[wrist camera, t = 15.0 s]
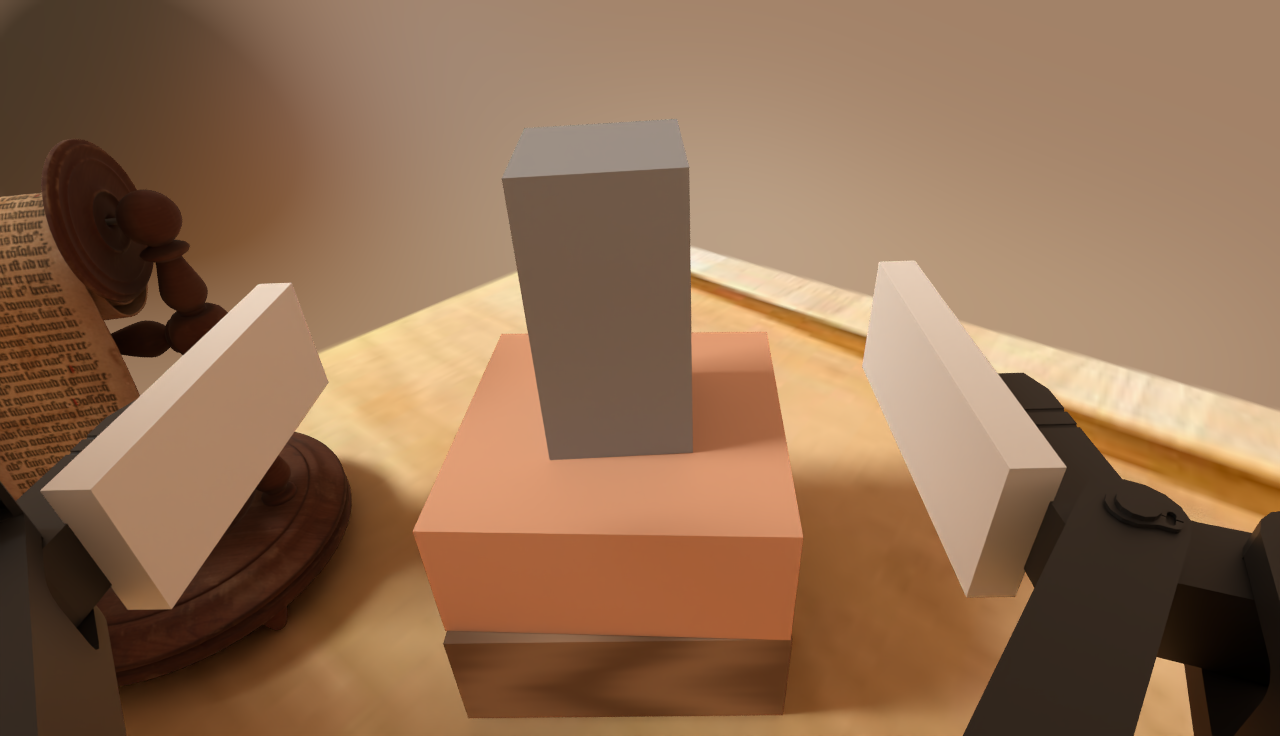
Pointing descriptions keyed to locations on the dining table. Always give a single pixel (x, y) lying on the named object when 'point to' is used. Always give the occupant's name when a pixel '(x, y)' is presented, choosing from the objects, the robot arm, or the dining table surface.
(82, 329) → the scroll
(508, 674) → the tower bottom
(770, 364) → the tower top
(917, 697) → the dining table surface
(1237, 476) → the dining table surface
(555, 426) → the grey block
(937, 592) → the dining table surface
